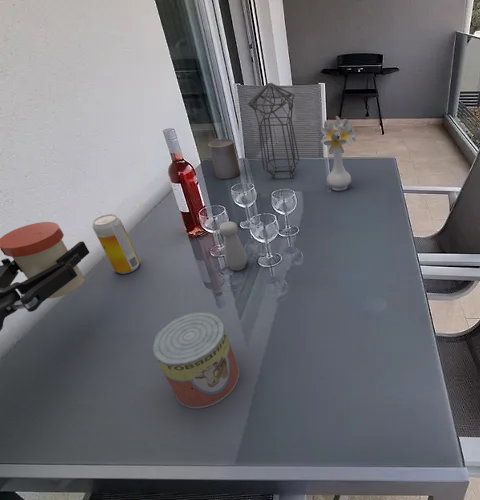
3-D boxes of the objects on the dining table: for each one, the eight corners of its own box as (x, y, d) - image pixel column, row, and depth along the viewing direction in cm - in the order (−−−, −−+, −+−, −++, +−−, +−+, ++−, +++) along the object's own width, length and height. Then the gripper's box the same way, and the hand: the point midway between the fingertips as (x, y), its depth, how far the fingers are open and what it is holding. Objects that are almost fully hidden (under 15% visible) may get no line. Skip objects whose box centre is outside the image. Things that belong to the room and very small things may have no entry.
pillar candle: (233, 168, 152) (225, 134, 143) (244, 174, 146) (237, 139, 137) (212, 175, 147) (202, 139, 138) (222, 181, 141) (213, 144, 132)
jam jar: (29, 295, 67) (-8, 245, 61) (64, 271, 73) (34, 223, 67) (59, 301, 66) (25, 250, 59) (93, 276, 72) (65, 228, 65)
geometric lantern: (299, 182, 138) (288, 86, 118) (260, 183, 138) (242, 87, 118) (304, 167, 151) (294, 78, 131) (268, 168, 151) (253, 79, 131)
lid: (-10, 253, 61) (-16, 244, 60) (39, 228, 68) (34, 219, 67) (29, 260, 59) (23, 250, 58) (75, 233, 66) (70, 224, 65)
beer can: (125, 260, 97) (102, 212, 88) (145, 262, 96) (124, 214, 87) (110, 274, 92) (84, 225, 83) (131, 275, 91) (107, 226, 82)
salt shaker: (222, 270, 92) (210, 228, 85) (235, 258, 96) (224, 217, 89) (241, 274, 90) (230, 231, 83) (253, 262, 95) (244, 220, 87)
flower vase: (325, 200, 124) (320, 129, 110) (321, 180, 139) (316, 115, 125) (361, 197, 126) (361, 126, 111) (354, 177, 141) (352, 112, 126)
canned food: (195, 421, 58) (172, 377, 51) (163, 383, 64) (139, 339, 57) (251, 376, 65) (238, 332, 58) (218, 345, 71) (202, 302, 64)
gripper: (-92, 349, 54) (26, 261, 73) (34, 351, 53) (121, 262, 72) (-131, 314, 50) (5, 231, 69) (5, 316, 49) (106, 231, 68)
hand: (64, 247), depth 70 cm, fingers closed on jam jar, 8 cm apart
